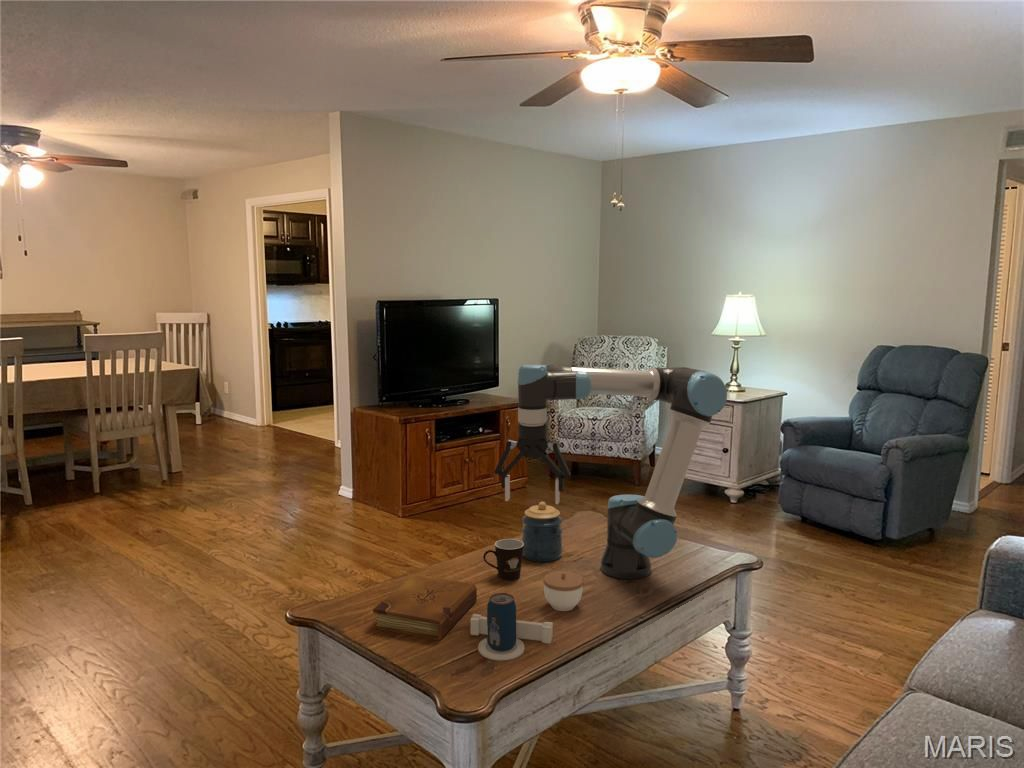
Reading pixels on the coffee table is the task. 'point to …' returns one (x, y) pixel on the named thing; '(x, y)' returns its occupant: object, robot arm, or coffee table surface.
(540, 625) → the divider
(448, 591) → the diary
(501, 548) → the coffee mug
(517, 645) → the coaster
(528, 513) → the canister
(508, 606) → the soda can
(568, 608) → the lidded jar
